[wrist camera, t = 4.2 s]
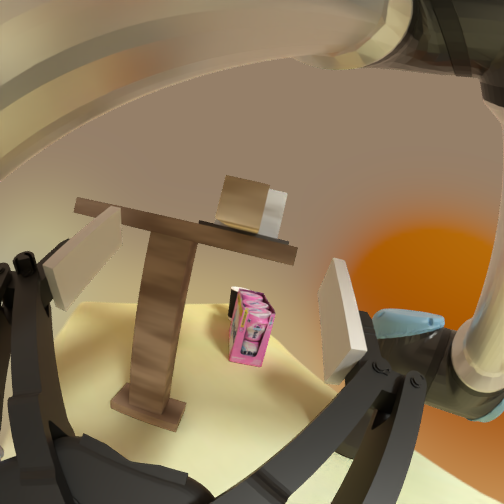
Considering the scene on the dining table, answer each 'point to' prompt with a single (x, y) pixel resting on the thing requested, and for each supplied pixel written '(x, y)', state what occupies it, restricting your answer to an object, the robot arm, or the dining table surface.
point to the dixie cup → (233, 301)
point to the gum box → (250, 328)
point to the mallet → (250, 207)
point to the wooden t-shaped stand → (170, 302)
